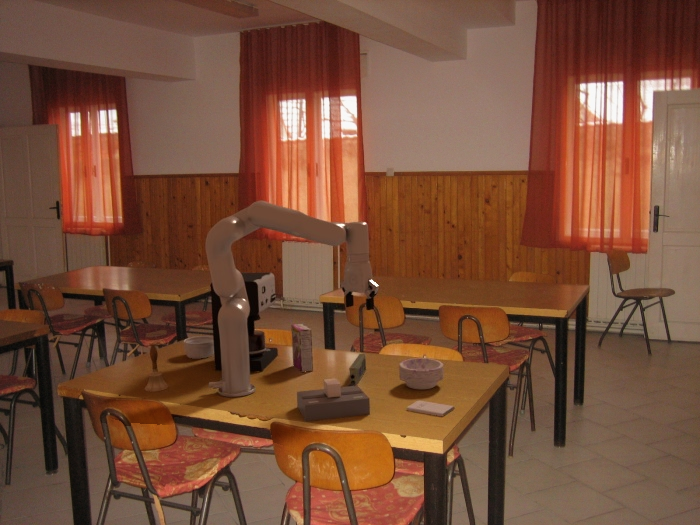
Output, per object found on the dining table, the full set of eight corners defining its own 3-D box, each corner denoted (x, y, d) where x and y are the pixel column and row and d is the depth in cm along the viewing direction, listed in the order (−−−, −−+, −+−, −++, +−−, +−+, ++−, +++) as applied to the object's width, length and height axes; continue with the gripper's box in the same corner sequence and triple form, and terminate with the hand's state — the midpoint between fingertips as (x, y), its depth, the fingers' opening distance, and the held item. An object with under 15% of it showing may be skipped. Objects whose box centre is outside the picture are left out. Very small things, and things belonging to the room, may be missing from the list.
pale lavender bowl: (419, 395, 228) (419, 372, 227) (390, 385, 240) (390, 363, 239) (453, 386, 237) (452, 363, 236) (423, 377, 249) (422, 355, 248)
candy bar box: (292, 366, 269) (290, 324, 267) (304, 364, 271) (302, 323, 269) (301, 373, 258) (299, 330, 256) (313, 371, 260) (312, 328, 258)
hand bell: (144, 393, 239) (141, 348, 238) (144, 386, 247) (141, 342, 246) (168, 390, 242) (166, 345, 240) (168, 383, 250) (165, 340, 248)
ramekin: (212, 359, 282) (211, 342, 282) (180, 360, 283) (179, 343, 282) (219, 351, 296) (218, 335, 295) (189, 352, 296) (188, 336, 295)
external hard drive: (442, 418, 207) (406, 412, 214) (454, 410, 214) (419, 404, 221) (442, 413, 207) (406, 406, 214) (454, 405, 214) (418, 399, 221)
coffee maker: (260, 374, 258) (256, 282, 254) (210, 374, 261) (205, 282, 257) (279, 355, 285) (276, 271, 281) (234, 355, 288) (230, 272, 284)
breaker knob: (328, 397, 211) (327, 384, 211) (324, 391, 217) (323, 379, 217) (340, 396, 212) (340, 383, 212) (336, 390, 218) (336, 378, 218)
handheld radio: (367, 370, 260) (355, 390, 236) (359, 370, 261) (345, 390, 236) (366, 353, 259) (354, 371, 235) (357, 353, 260) (344, 371, 236)
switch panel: (305, 421, 206) (305, 405, 206) (297, 407, 220) (296, 391, 219) (369, 414, 211) (369, 397, 211) (357, 400, 225) (357, 385, 224)
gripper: (332, 258, 237) (334, 307, 239) (369, 261, 225) (370, 312, 227) (348, 255, 243) (349, 303, 245) (384, 258, 230) (386, 309, 232)
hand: (359, 308), depth 236 cm, fingers open, 9 cm apart
